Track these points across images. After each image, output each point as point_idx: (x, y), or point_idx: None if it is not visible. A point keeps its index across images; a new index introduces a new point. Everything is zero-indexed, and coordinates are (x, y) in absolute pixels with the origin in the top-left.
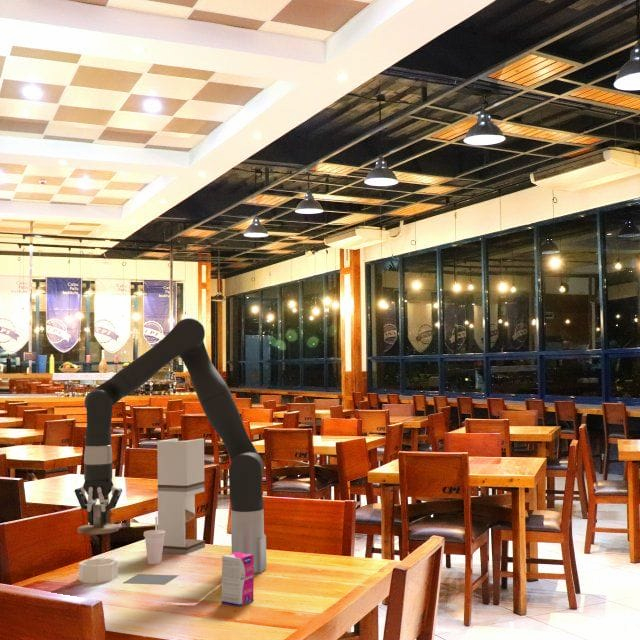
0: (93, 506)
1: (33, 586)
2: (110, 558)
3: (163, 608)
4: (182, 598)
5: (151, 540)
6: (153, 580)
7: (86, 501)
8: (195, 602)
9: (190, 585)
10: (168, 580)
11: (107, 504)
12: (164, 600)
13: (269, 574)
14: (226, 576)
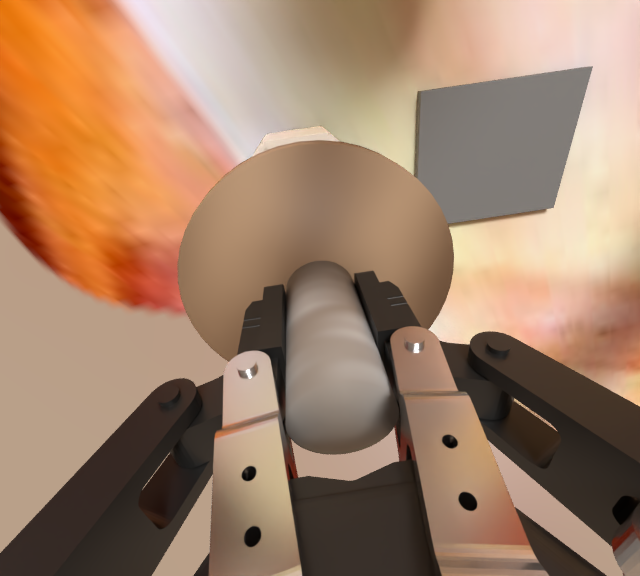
0: (309, 441)
1: (159, 305)
2: (319, 138)
3: (568, 353)
4: (606, 288)
5: None
6: (507, 172)
7: (159, 461)
8: (636, 305)
9: (629, 167)
10: (559, 157)
11: (439, 386)
12: (564, 312)
13: None
14: None
